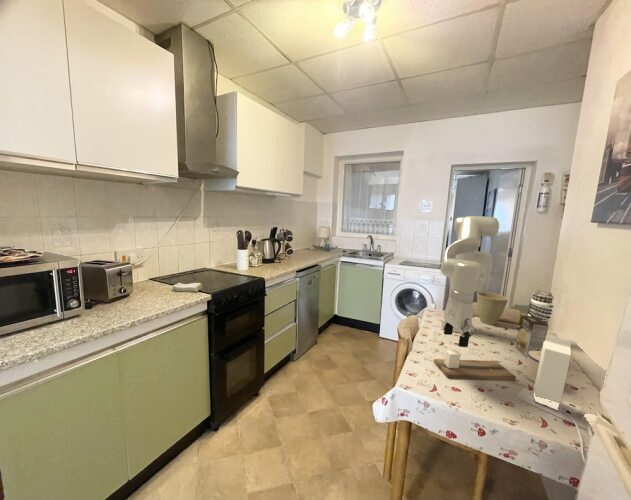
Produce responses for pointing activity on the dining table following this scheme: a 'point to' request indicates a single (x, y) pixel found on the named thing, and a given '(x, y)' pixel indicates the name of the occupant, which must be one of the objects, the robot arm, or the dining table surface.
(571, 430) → the dining table surface
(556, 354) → the milk
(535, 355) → the teacup with lid
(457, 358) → the fader tab
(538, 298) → the decorative candle
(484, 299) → the plant pot
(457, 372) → the wooden board
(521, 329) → the coffee box
